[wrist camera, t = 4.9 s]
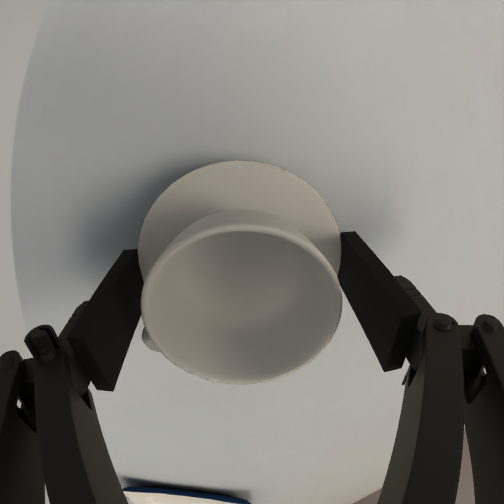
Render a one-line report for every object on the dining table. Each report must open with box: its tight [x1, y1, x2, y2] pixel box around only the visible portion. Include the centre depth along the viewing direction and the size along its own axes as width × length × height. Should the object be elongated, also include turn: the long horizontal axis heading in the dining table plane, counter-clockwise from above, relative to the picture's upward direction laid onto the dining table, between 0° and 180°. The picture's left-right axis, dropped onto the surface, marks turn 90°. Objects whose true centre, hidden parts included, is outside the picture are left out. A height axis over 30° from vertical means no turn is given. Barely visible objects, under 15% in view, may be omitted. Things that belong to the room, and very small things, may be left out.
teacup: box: [138, 160, 342, 384], centre depth 13 cm, size 10×10×5 cm
